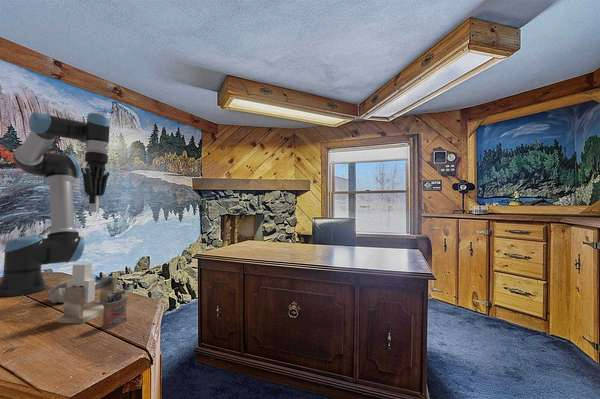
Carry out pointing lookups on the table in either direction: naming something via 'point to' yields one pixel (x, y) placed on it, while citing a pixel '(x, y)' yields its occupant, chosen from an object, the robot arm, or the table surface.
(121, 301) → the lighter
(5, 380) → the table surface
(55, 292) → the fossil replica
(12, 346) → the table surface
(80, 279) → the white pipe saddle block
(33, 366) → the table surface
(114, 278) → the pipe stand
